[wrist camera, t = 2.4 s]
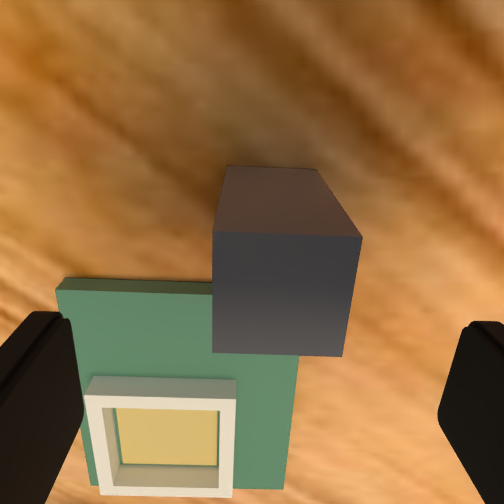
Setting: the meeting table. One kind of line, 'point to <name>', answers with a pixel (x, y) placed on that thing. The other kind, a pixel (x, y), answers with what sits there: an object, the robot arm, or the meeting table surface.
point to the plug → (281, 264)
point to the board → (173, 393)
